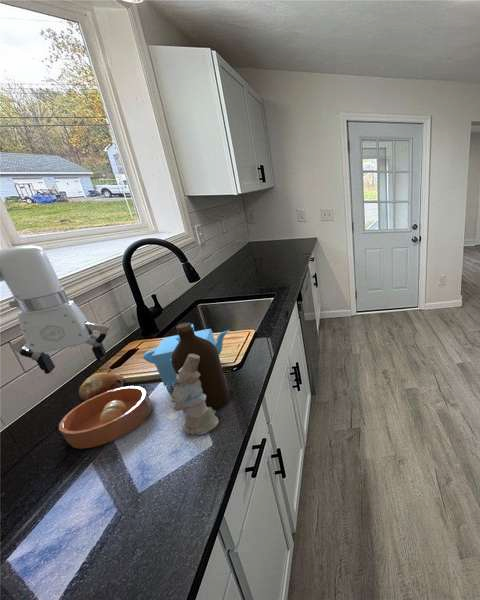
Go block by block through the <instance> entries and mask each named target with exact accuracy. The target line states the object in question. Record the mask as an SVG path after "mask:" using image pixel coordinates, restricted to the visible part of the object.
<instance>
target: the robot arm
mask: <svg viewBox="0 0 480 600" xmlns="http://www.w3.org/2000/svg"><path fill="white" fill-rule="evenodd" d="M52 265H53V264H52V263H51V261H50V259H49V257H48V255H47V253H46V251H45V250H44V249H43V248H42V247H40V246H38V245H37V246H36V245H21V246H15V247H8V248H3V249H0V283H1V282H5V284H6V286H7V287H8V289H9V291H10V293H11V294H12V296H13V298H14V299H13V300H12V301H11V300H9V302H8V305H9V307H10V308H18V310H19V312H17V313H16V315H17V320H18V324H19V327H20V330H21V334H22V335H23V336H22V337H21V338H20V339H18V340H16V341H15V342H13V343H12V344H10V346H9V348H10V349H11V350H12V351H14V352H16V353H18V354H19V355H20V356H21V357H24V358H25V357H26V358H29V359H30V360H32V361H35V362H36V363H37V365H38V367H39V369H40V370H41V371H43V372H44V374H46V375H48V374H51V372H53V370H54V369H55V368H56V365H55V364H54V361H53V360H52V358H51V356H50V355H49V353H47V352H52V351H53V352H54V351H57V350H62V349H66V348H71V347H76V346H79V345H80V346H81V345H83V344H87V345H90V346H91V350H92V353H93V354H94V357H95V360H96V361H97V362H102V361H103V360H104V358H105V357H106V355H107V351H106V349H105V347H104V344H103V342H104V340H105V339H106V338H107V336H108V334H109V333H108V332H109V329H110V325H108V324H102V323H96V322H89V321H88V319H87V318H86V316H85V314H84V313H83V311H82V310H81V309H80V308H79V306H78V305H77V304H76V303H75V302H74V300H69V297H68V296H67V294H66V292H65V290H64V288H63V286H62V284H61V281H60V280H59V278H58V276H57V273H56V271H55V270H54V267H53V266H52ZM94 331H99V335H98V336H97V335H95V334H94ZM25 344H27V346H28V347H26V346H25Z"/></svg>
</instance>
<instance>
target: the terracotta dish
mask: <svg viewBox="0 0 480 600" xmlns="http://www.w3.org/2000/svg"><path fill="white" fill-rule="evenodd" d="M114 400H120V401H123V402H124V403H125V404H126V410H125V412H124V414H123V415H121V416H120V417H118V418H116V419H115V420H112V421H110V422H108V423H106V424H102V423H101V421H100V415H101V413H102V411H103V409H104V407H105V406H106V405H107V404H108V403H109V402H111V401H114ZM152 411H153V403H152V402H151V400H150V397H149V395H148V393H147V390H146V389H145V388H143V387H141V386H138V385H137V386H136V385H135V386H134V385H130V386H129V385H128V386H122V388H118V389H114V390H111V391H107V392H105V393H102V394H100V395H97V396H95V397H93V398H91V399H89V400H87V401H83V402H82V403H80V404H79V405H77V406H75V407H74V408H72V409H71V410H69V412H67V413H66V414H65V415H64V416H63V417H62V419H61V420H60V422H59V424H58V430H59V432H60V434H61V435H62V437H63V438H64V440H65V441H66V443H67V444H68V445H69V446H70V447H72V448H73V449H79V450H80V449H90V448H95V447H99V446H102V445H105V444H107V443H111V442H112V441H113V442H114V441H115V440H117V439H119V438H122V437H123V436H126V434H128V433H131V432H132V431H133V430H135V429H136V428H138V426H140V425H141V424H143V423H144V421H145V420H146V419H148V417H149V416H150V415H151V413H152Z"/></svg>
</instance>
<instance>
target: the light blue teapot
mask: <svg viewBox="0 0 480 600" xmlns="http://www.w3.org/2000/svg"><path fill="white" fill-rule="evenodd" d="M191 327H192V328H193V330H194V334H195V335H196V336H198V337H201V338H204V339H206V340H209V341H210V342H212V343H213V344H214V346H215V347H216V349H217V351H218V355H219V358H220V357H221V352H222V350H223V347H224V346H223V345H224V344H223V343H224V342H223V341H224V337H225V336H226V335H227V334H228V333H230V332H231V329H228V330H224V331H221V332H219V333H218V334H217V338H216V339H215V336H214V334H213V330H212V328H207V329H200V330H196V331H195V328H194V327H195V326H194V324H193V323H191ZM179 342H180V337H179V335H178V334H175V335H171V336H165V337H162V340H161V341H160V342H159V344H158V346H157V347H156V348H153V349H151V350H150V349H149V350H148V351H146V352H145V353H143V355H142V357H143V360H145V361H146V362H148V363H150V364H154V366H155V368H156V370H157V372H158V374H159V377H160V379H161V381H162V383H163V385H164V386H168V385H173V384H174V385H175V387H176V386H177V385H179V384H181V383H178V382H177V381H176V377H177V374H176V372H175V370H174V368H173V366H172V363H171V357H172V353H173V351H174V349H175V348H176V346H177V345H178V343H179Z"/></svg>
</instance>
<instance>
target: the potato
mask: <svg viewBox="0 0 480 600" xmlns="http://www.w3.org/2000/svg"><path fill="white" fill-rule="evenodd" d="M125 410H126V404H125V403H124V402H123V401H120V400H114V401H111V402H109V403H108V404H107V405H106V406H105V407H104V409H103V411H102V413H101V415H100V421H101V423H102V424H106V423H108V422H110V421H112V420H115V419H116V418H118V417H120V416H121V415H123V414H124V412H125Z"/></svg>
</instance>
